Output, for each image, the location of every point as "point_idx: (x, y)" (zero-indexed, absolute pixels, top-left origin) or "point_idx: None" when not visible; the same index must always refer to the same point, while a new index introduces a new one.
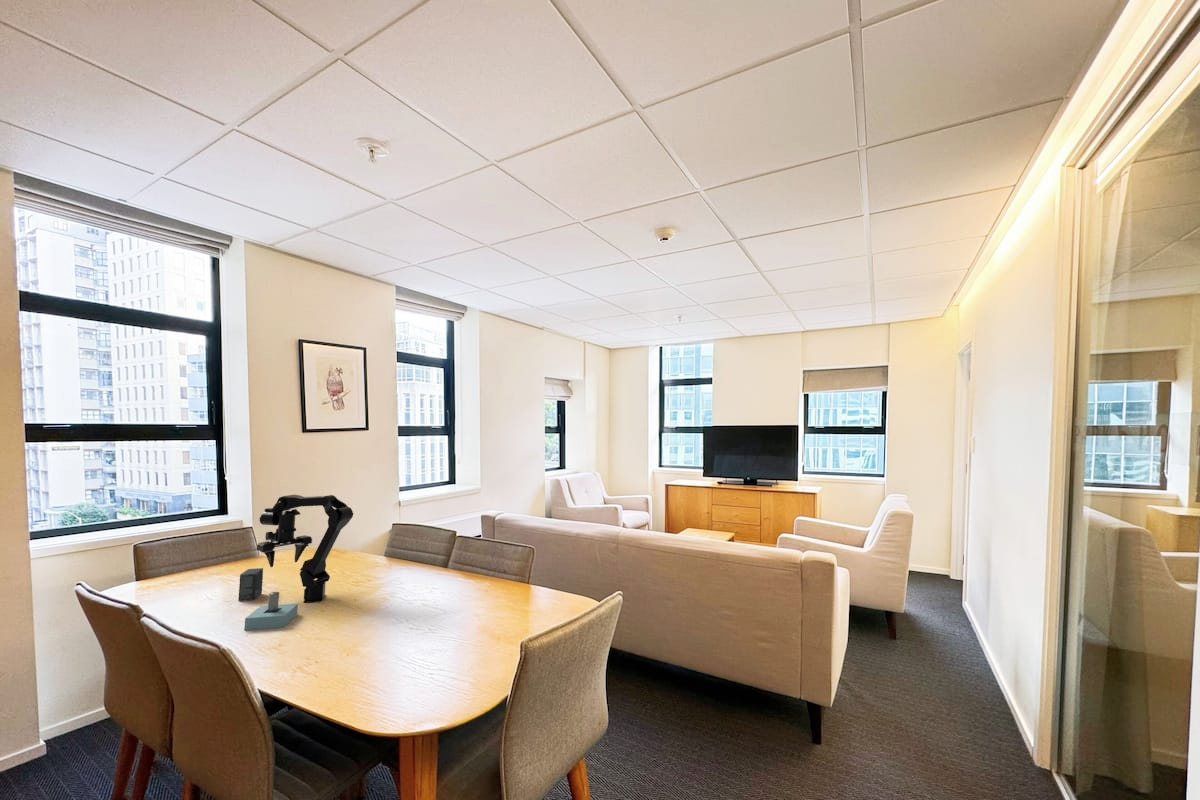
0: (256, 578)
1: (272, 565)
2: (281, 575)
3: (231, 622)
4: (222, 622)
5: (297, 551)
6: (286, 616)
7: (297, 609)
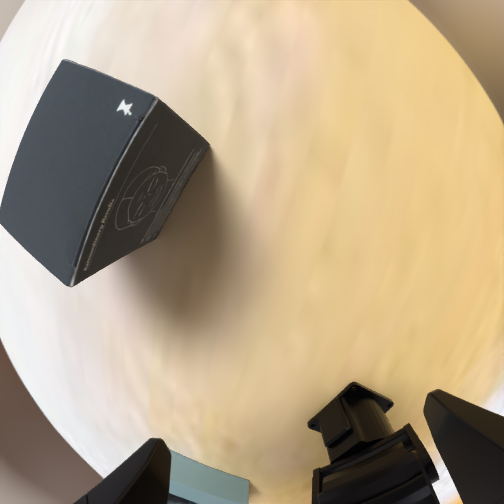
0: (102, 260)
1: (164, 473)
2: None
3: (92, 421)
4: (72, 404)
5: (487, 489)
6: None
7: (247, 492)
